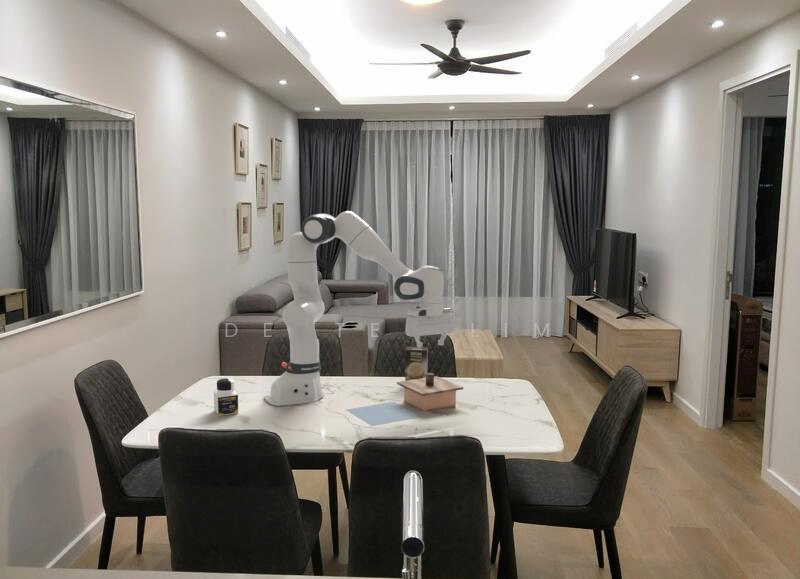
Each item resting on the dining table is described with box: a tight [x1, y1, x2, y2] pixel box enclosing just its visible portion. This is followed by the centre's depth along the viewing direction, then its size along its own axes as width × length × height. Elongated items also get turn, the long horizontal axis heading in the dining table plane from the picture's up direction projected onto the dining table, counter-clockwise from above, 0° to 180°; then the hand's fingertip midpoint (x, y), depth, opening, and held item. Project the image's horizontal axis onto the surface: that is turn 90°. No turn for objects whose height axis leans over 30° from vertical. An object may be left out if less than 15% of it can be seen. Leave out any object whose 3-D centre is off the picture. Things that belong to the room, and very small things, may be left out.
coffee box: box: [404, 346, 429, 381], centre depth 268 cm, size 9×6×16 cm
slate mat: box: [346, 401, 423, 427], centre depth 232 cm, size 20×20×1 cm
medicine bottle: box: [213, 377, 239, 417], centre depth 233 cm, size 7×7×12 cm
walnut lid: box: [396, 372, 464, 396], centre depth 243 cm, size 18×18×5 cm
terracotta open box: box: [403, 387, 457, 412], centre depth 244 cm, size 14×14×7 cm
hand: (430, 346), depth 241 cm, fingers open, 8 cm apart
